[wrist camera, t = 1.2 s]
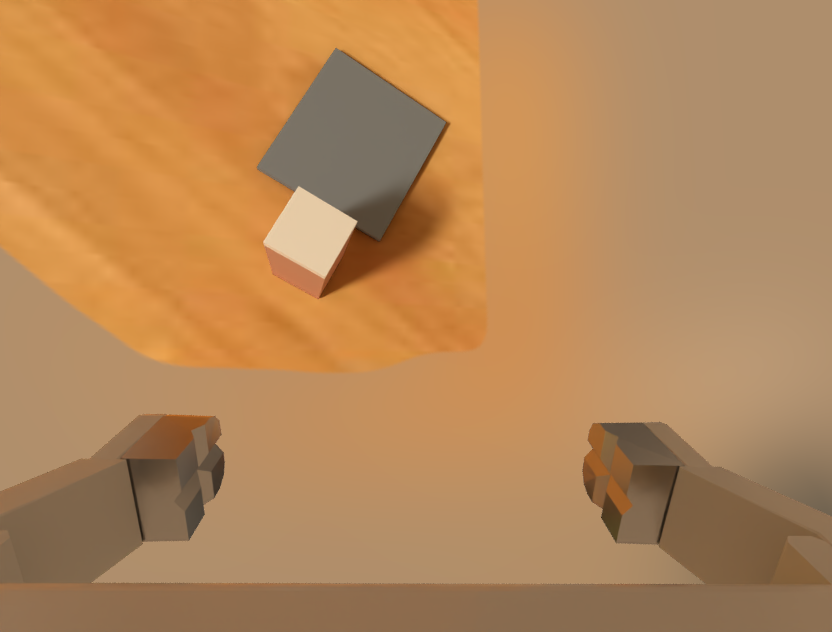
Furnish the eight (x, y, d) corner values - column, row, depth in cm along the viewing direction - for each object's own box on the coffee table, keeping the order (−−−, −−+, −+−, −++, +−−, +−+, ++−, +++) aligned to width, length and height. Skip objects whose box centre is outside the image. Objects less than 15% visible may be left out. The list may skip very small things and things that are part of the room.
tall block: (272, 274, 42) (263, 241, 31) (298, 232, 43) (298, 186, 32) (318, 299, 43) (325, 276, 32) (342, 257, 44) (357, 221, 33)
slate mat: (257, 169, 43) (257, 166, 42) (335, 51, 46) (335, 47, 46) (379, 241, 46) (380, 240, 45) (444, 125, 49) (446, 122, 48)
